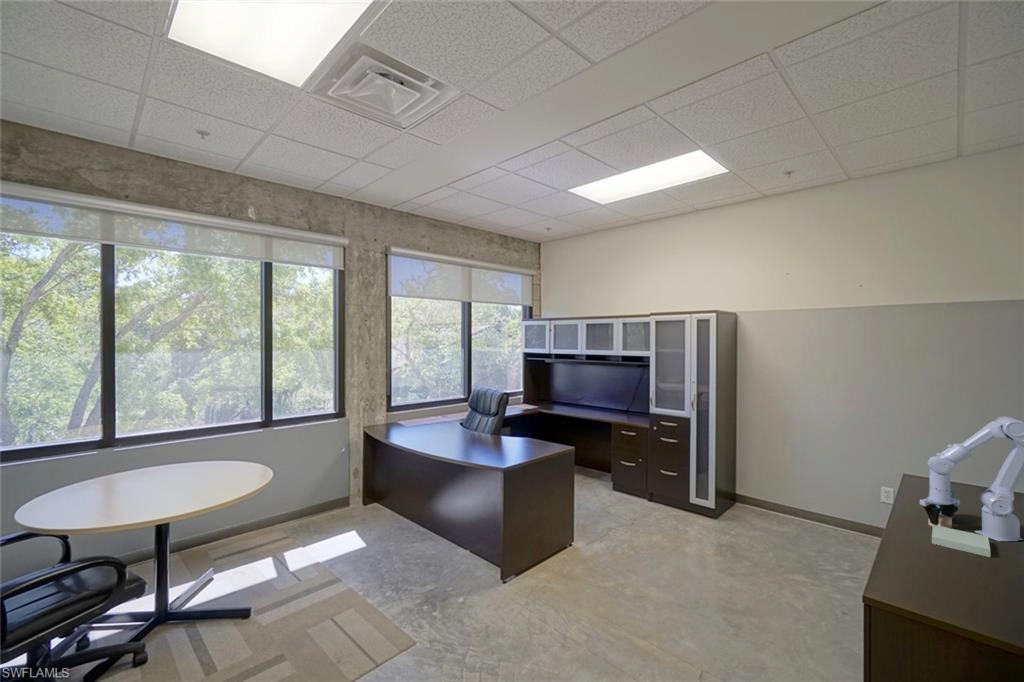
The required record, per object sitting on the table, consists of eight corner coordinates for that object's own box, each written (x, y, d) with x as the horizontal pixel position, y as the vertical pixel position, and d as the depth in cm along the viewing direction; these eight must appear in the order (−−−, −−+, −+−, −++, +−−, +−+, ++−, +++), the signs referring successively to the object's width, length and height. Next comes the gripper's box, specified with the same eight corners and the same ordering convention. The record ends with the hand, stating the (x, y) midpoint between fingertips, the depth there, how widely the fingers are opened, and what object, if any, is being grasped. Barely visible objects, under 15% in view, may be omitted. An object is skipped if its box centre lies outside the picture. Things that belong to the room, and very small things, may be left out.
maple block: (939, 524, 170) (939, 513, 170) (951, 529, 165) (951, 517, 165) (928, 525, 169) (928, 513, 169) (940, 530, 165) (940, 518, 165)
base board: (933, 531, 164) (933, 524, 164) (988, 543, 154) (988, 536, 154) (931, 543, 154) (931, 536, 154) (990, 557, 144) (990, 549, 144)
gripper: (946, 484, 172) (946, 518, 172) (911, 485, 171) (912, 519, 171) (966, 490, 165) (966, 526, 165) (930, 491, 164) (930, 527, 164)
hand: (940, 523), depth 167 cm, fingers closed on maple block, 4 cm apart
